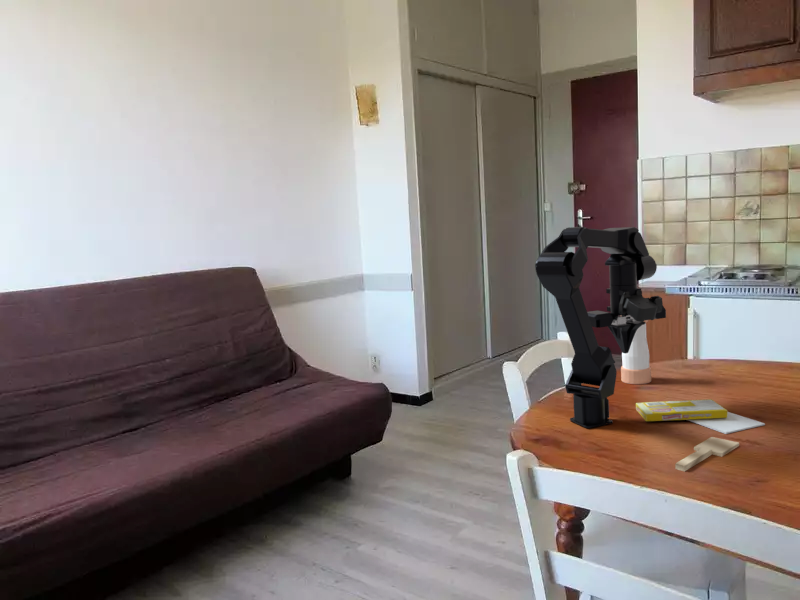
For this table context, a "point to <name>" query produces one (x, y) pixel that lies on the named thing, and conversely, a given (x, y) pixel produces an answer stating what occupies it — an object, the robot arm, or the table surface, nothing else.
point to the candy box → (680, 410)
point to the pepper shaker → (637, 359)
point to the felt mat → (728, 423)
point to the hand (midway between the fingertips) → (625, 352)
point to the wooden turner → (706, 452)
